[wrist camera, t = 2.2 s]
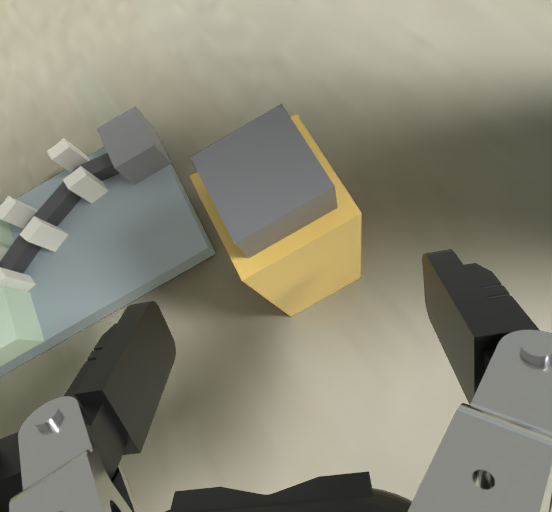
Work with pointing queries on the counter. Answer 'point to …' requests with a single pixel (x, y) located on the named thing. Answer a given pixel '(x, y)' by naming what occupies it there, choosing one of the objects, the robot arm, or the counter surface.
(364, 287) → the counter surface
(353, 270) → the block
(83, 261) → the board
